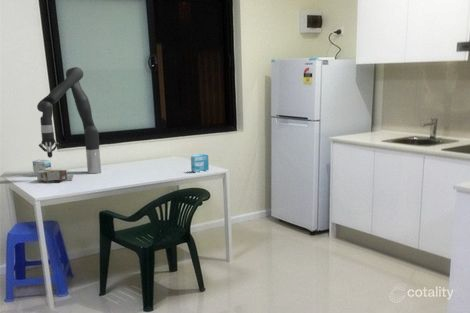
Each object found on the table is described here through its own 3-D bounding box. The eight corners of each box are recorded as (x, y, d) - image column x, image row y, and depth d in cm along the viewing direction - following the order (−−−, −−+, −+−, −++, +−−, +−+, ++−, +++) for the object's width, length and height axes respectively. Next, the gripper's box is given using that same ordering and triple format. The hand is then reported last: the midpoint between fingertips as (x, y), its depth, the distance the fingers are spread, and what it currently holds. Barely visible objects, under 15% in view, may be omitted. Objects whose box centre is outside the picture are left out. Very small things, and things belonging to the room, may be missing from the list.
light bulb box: (52, 174, 312) (51, 159, 310) (46, 176, 305) (44, 161, 303) (40, 173, 315) (38, 159, 313) (33, 176, 308) (31, 161, 306)
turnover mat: (73, 175, 306) (73, 174, 306) (71, 180, 291) (71, 179, 291) (48, 177, 302) (48, 176, 302) (45, 182, 287) (45, 181, 287)
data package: (194, 173, 307) (193, 156, 305) (191, 172, 311) (190, 155, 309) (208, 170, 314) (208, 154, 312) (205, 169, 318) (205, 153, 316)
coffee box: (37, 181, 287) (59, 182, 285) (36, 171, 286) (59, 172, 284) (45, 178, 296) (67, 179, 294) (44, 169, 295) (66, 169, 293)
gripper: (58, 130, 294) (61, 155, 298) (37, 131, 291) (40, 157, 294) (57, 131, 287) (60, 157, 290) (35, 133, 284) (38, 159, 287)
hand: (50, 157), depth 292 cm, fingers closed
